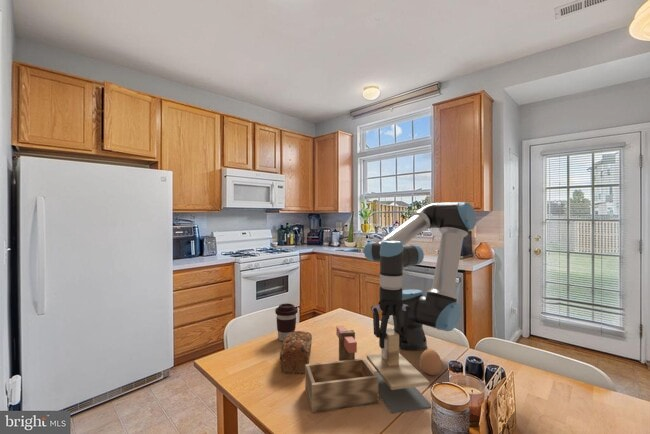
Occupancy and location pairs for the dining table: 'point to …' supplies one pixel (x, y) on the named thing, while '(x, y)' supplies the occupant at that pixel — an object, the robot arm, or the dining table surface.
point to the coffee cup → (285, 320)
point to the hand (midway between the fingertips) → (390, 356)
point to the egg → (430, 362)
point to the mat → (401, 397)
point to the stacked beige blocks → (396, 366)
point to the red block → (347, 340)
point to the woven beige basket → (341, 382)
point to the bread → (295, 352)
